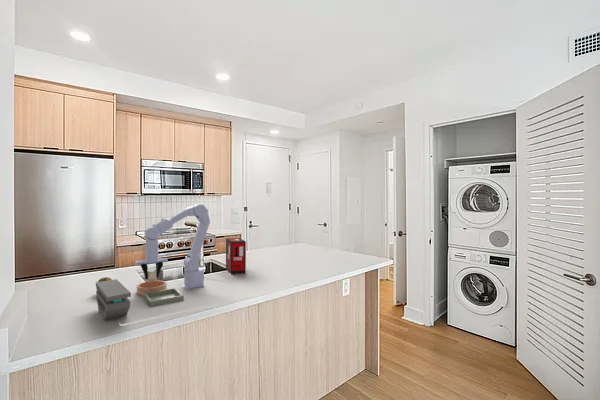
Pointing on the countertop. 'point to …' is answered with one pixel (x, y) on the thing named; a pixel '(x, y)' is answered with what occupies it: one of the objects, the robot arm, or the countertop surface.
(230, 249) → the cleaning product box
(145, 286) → the bowl
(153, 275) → the cream rounded capsule
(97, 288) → the potato
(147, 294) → the parts tray
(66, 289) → the countertop surface
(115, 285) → the grey storage case
